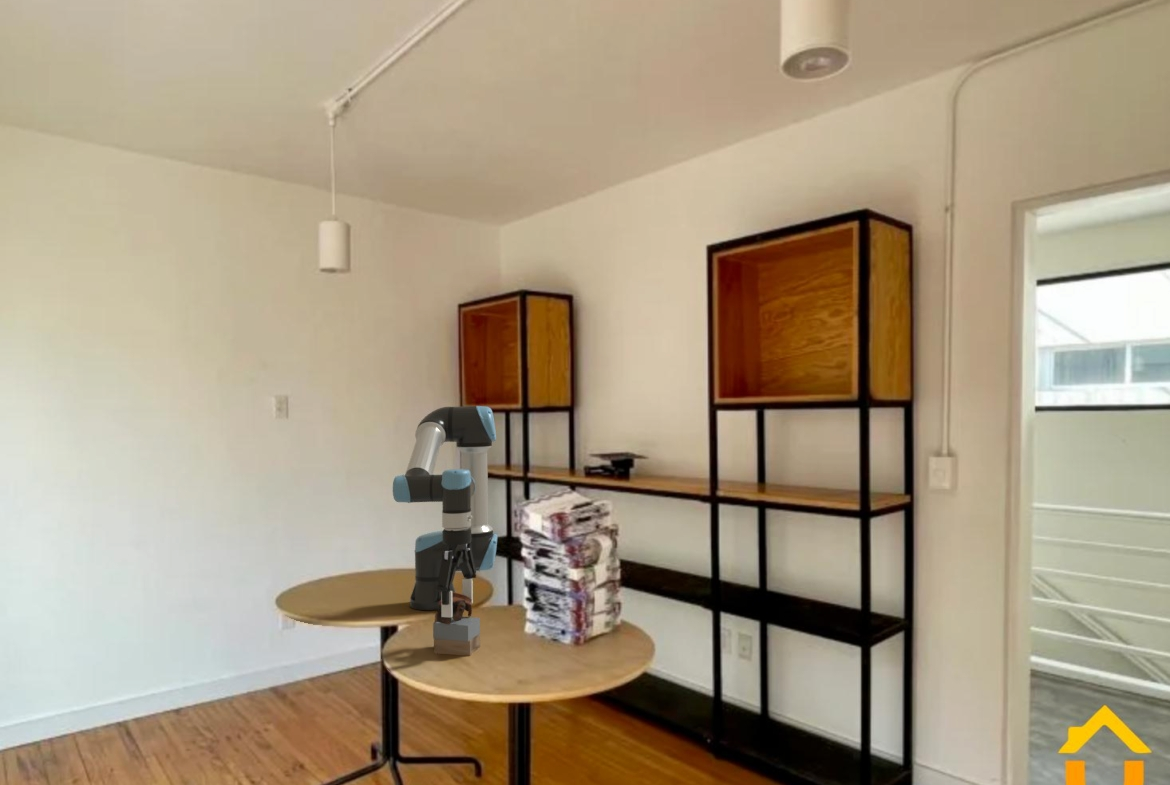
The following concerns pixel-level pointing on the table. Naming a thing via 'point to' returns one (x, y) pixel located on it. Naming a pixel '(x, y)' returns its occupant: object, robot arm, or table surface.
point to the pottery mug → (455, 608)
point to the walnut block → (456, 646)
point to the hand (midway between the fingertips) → (457, 609)
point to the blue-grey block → (457, 629)
